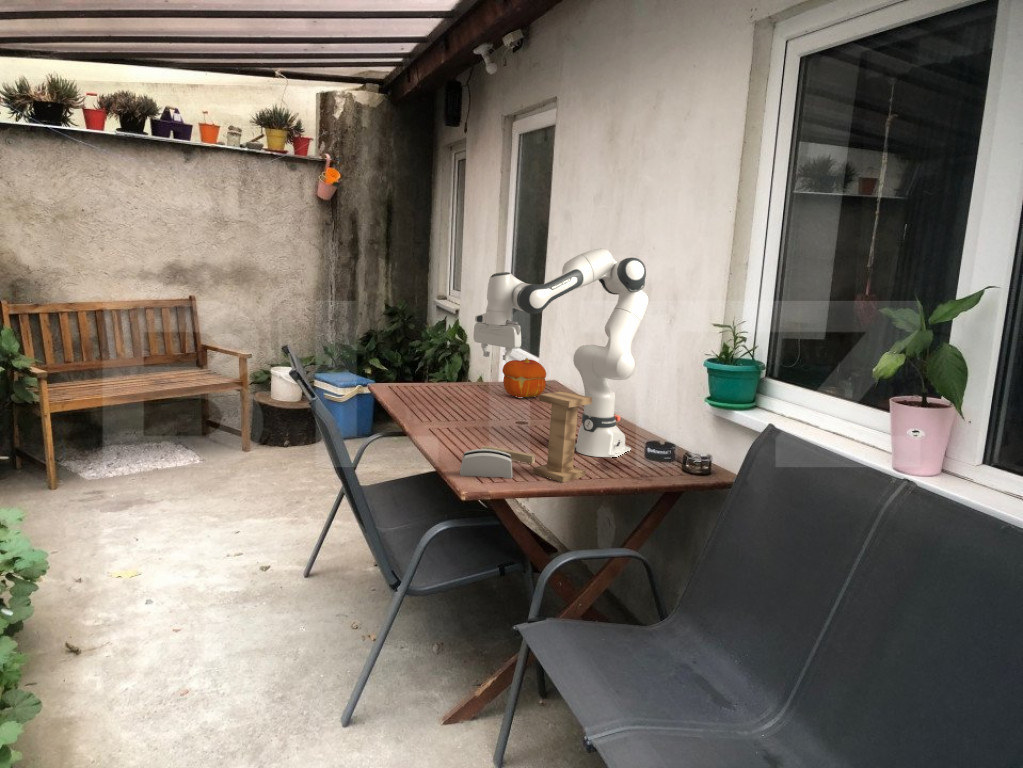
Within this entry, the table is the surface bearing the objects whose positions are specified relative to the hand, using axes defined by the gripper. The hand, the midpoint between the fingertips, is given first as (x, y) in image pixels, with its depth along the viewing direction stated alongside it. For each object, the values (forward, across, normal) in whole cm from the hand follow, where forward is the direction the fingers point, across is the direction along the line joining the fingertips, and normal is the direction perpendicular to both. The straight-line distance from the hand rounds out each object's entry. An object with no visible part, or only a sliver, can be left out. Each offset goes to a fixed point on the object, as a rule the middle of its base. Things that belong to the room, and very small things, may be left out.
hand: (495, 358), depth 255 cm
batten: (+33, -12, +4) cm, 36 cm away
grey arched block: (+33, -22, +24) cm, 47 cm away
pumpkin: (+34, +61, -88) cm, 112 cm away
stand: (+33, -35, +4) cm, 48 cm away
